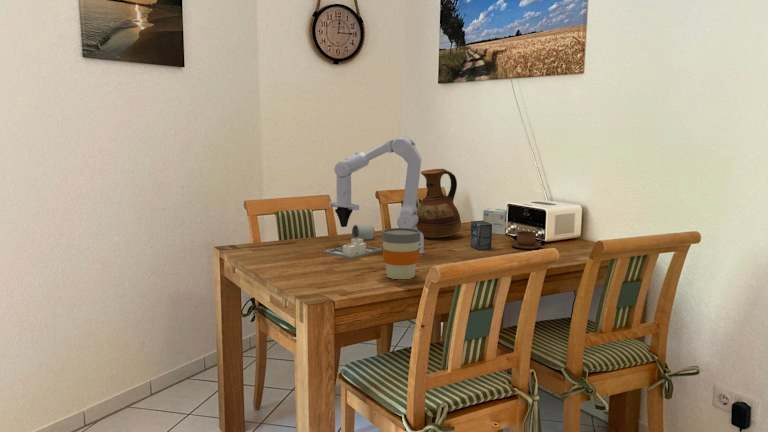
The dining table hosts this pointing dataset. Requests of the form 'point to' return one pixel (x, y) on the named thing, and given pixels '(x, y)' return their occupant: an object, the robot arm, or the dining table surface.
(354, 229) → the ceramic mug
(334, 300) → the dining table surface
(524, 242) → the cup and saucer
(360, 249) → the tab middle
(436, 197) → the ceramic pitcher
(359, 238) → the white small block
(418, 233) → the reusable coffee cup
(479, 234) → the box
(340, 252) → the grey flat tray
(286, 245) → the dining table surface
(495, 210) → the light bulb box
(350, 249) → the tab
